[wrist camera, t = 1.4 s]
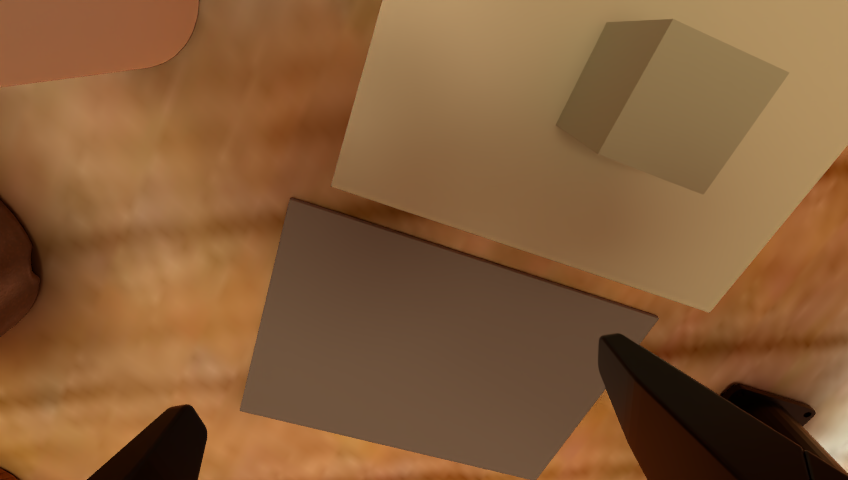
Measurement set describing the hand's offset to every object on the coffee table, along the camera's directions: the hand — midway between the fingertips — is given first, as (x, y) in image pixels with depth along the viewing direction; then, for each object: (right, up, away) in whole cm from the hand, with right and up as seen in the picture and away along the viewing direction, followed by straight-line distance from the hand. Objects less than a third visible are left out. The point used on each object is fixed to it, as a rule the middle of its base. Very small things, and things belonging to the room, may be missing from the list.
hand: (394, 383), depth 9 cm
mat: (+1, -5, +17) cm, 18 cm away
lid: (+8, +9, +7) cm, 14 cm away
